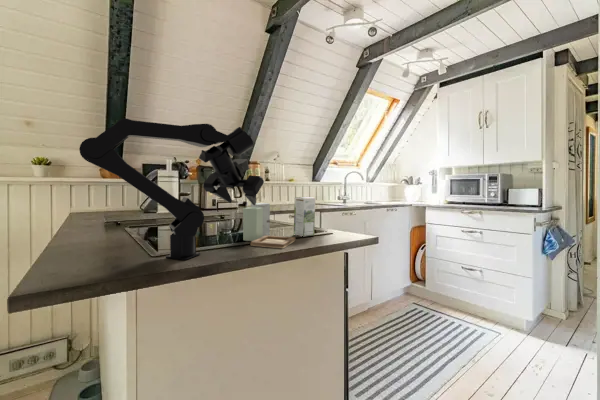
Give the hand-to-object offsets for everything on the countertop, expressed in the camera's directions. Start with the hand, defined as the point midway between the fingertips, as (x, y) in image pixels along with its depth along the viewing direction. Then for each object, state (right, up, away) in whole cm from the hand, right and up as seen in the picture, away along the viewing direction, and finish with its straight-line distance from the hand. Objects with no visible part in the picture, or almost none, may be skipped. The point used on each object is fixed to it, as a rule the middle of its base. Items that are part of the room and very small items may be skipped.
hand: (242, 203), depth 96 cm
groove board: (+10, -13, +2) cm, 17 cm away
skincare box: (+4, -12, +15) cm, 20 cm away
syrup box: (+20, -13, +17) cm, 29 cm away
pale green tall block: (+2, -13, +8) cm, 15 cm away
